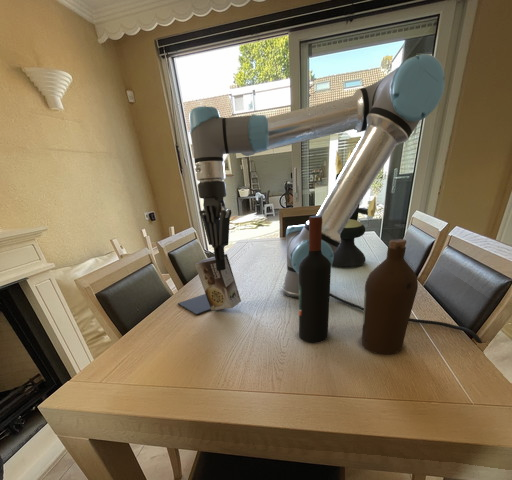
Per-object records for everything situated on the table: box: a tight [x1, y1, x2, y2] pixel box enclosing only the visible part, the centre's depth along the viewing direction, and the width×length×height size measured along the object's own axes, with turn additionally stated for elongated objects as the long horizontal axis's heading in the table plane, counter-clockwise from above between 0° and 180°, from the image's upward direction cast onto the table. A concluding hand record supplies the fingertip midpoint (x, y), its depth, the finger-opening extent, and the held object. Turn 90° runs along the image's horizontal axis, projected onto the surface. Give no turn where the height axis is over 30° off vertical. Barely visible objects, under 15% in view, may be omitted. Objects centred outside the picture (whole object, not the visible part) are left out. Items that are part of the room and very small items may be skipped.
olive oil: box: [361, 238, 419, 355], centre depth 66 cm, size 11×11×25 cm
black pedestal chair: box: [331, 148, 377, 269], centre depth 122 cm, size 19×22×45 cm
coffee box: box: [194, 253, 242, 311], centre depth 94 cm, size 9×6×16 cm
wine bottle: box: [298, 215, 332, 344], centre depth 71 cm, size 8×8×30 cm
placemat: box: [177, 293, 212, 316], centre depth 105 cm, size 14×17×1 cm
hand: (221, 269), depth 88 cm, fingers closed
